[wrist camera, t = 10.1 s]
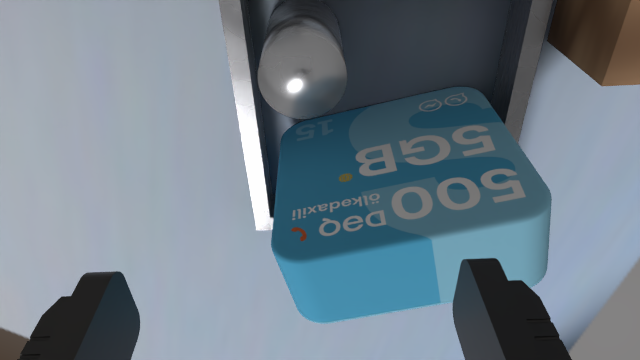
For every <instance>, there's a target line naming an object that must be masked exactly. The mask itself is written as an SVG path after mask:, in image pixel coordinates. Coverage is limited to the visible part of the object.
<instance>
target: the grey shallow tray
mask: <svg viewBox="0 0 640 360" xmlns="http://www.w3.org/2000/svg"><path fill="white" fill-rule="evenodd" d="M552 3H553V0H511V4H510V9H509V15H508V20H507V25H506V30H505V35H504V40H503V45H502V50H501V55H500V61H499V66H498V71H497V76H496V81H495V86H494V91H493V96H492V102H491V106H492V107H493V109H494V110H495V112H496V113H497V115H498V116H499V118H500V119H501V120H502V122H503V123H504V125H505V126H506V128H507V129H508V131H509V132H510V133H511V135H512V136H513V138H514V139H515V141H516V142H517V144H518V140H519V136H520V132H521V128H522V124H523V120H524V116H525V112H526V108H527V104H528V100H529V96H530V92H531V88H532V84H533V80H534V76H535V72H536V68H537V64H538V59H539V55H540V51H541V47H542V43H543V39H544V35H545V31H546V27H547V23H548V19H549V15H550V11H551V7H552ZM219 5H220V11H221V17H222V23H223V29H224V35H225V42H226V48H227V54H228V60H229V66H230V72H231V78H232V84H233V90H234V96H235V102H236V108H237V114H238V120H239V127H240V133H241V139H242V145H243V151H244V157H245V163H246V169H247V175H248V181H249V187H250V193H251V199H252V205H253V212H254V218H255V224H256V230H272V229H273V218H274V208H275V197H276V194H274V195H273V194H272V187H271V179H270V171H269V164H268V156H267V148H266V140H265V133H264V125H263V117H262V109H261V102H260V94H259V86H258V79H257V71H256V63H255V55H254V48H253V40H252V32H251V24H250V17H249V9H248V1H247V0H219Z"/></svg>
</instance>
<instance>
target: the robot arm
mask: <svg viewBox="0 0 640 360" xmlns="http://www.w3.org/2000/svg"><path fill="white" fill-rule="evenodd" d="M453 318H454V324H455V328H456V331H457V334H458V338H459V341H460V344H461V347H462V351H463V354H464V357H465V360H572V359H571V357H570V356H569V354H568V352H567V350H566V348H565V346H564V344H563V342H562V340H560V339H559V334H558V332H557V330H556V328H555V326H554V324H553V322H552V323H551V321H550V316H549V314H548V313H547V311H546V309H545V307H544V305H543V303H542V301H541V299H540V297H539V296H538V295H537V294H536V293H535V292H534V291H533V290H531V289H530V288H529V287H528V286H527V285H526V284H525V283H524V282H523V281H522V280H510V281H508V279H507V277H506V275H505V272H504V270H503V268H502V266H501V264H500V262H499V261H498V260H497V259H496V258H481V259H463V260H462V262H461V265H460V270H459V274H458V279H457V284H456V289H455V294H454V299H453ZM139 330H140V316H139V312H138V309H137V307H136V304H135V302H134V299H133V297H132V294H131V292H130V290H129V287H128V285H127V282H126V280H125V277H124V275H123V274H122V273H121V272H93V273H86V274H84V275H83V276H82V277H81V279H80V281H79V282H78V284H77V286H76V288H75V290H74V292H73V294H72V296H67V297H61V298H60V299H59V300H58V301H57V302H56V303H55V304H54V305H52V306H51V307H50V308H49V309H48V310H47V311H46V312H45V313H44V314H43V315H42V317H41V318H40V320H39V322H38V324H37V326H36V327H35V329H34V331H33V333H32V334H31V336H30V341H27V343H26V345H25V347H24V349H23V350H22V352H21V354H20V359H18V360H131V357H132V354H133V351H134V348H135V345H136V342H137V339H138V336H139Z"/></svg>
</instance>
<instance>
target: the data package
mask: <svg viewBox="0 0 640 360" xmlns="http://www.w3.org/2000/svg"><path fill="white" fill-rule="evenodd" d="M551 200H552V199H551V193H550V190H549V189H548V187H547V185H546V184H545V183H544V181H543V180H542V178H541V177H540V175H539V174H538V172H537V171H536V170H535V168H534V167H533V165H532V164H531V162H530V161H529V159H528V158H527V157H526V155H525V154H524V152H523V151H522V149H521V148H520V146H519V145H518V144H517V142H516V141H515V139H514V138H513V136H512V135H511V133H510V132H509V131H508V129H507V128H506V126H505V125H504V123H503V122H502V120H501V119H500V118H499V116H498V115H497V113H496V112H495V110H494V109H493V107H492V106H491V105H490V103H489V102H488V100H487V99H486V97H485V96H484V95H483V93H481V92H480V91H479V90H477V89H474V88H470V87H451V88H446V89H442V90H437V91H433V92H428V93H424V94H420V95H415V96H411V97H407V98H402V99H398V100H394V101H389V102H385V103H380V104H376V105H372V106H367V107H363V108H359V109H354V110H350V111H345V112H341V113H337V114H332V115H328V116H324V117H319V118H315V119H311V120H306V121H303V122H300V123H298V124H296V125H294V126H292V127H290V128H289V129H288V130H287V131H286V132H285V133H284V134H283V136H282V138H281V143H280V154H279V165H278V175H277V186H276V197H275V208H274V218H273V229H272V240H271V247H272V251H273V253H274V256H275V258H276V260H277V263H278V265H279V267H280V270H281V272H282V274H283V276H284V279H285V281H286V283H287V286H288V288H289V290H290V293H291V295H292V297H293V300H294V302H295V304H296V307H297V309H298V311H299V312H300V314H301V315H302V316H303V317H305V318H306V319H308V320H309V321H312V322H315V323H320V324H328V323H335V322H340V321H346V320H352V319H358V318H364V317H370V316H376V315H381V314H387V313H393V312H399V311H405V310H411V309H417V308H422V307H428V306H434V305H440V304H446V303H452V302H453V299H454V294H455V289H456V284H457V279H458V274H459V270H460V265H461V262H462V260H463V259H481V258H496V259H497V260H498V261H499V262H500V264H501V266H502V268H503V270H504V272H505V275H506V277H507V279H508V281H510V280H522V281H523V282H524V283H525V284H526V285H527V286H528V287H529V288H531V287H533V286H534V285H536V284H537V283H539V282H540V281H541V280H542V278H543V277H544V275H545V273H546V270H547V263H548V247H549V231H550V216H551Z"/></svg>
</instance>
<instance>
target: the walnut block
mask: <svg viewBox="0 0 640 360" xmlns="http://www.w3.org/2000/svg"><path fill="white" fill-rule="evenodd" d="M547 41H548V42H549V43H550V44H552V45H553V46H554V47H555V48H556V49H558V50H559V51H560V52H561V53H562V54H564V55H565V56H566V57H567V58H568V59H570V60H571V61H572V62H573V63H574V64H576V65H577V66H578V67H579V68H580V69H582V70H583V71H584V72H585V73H586V74H588V75H589V76H590V77H591V78H592V79H594V80H595V81H596V82H597V83H598V84H600V85H601V86H617V85H638V84H640V0H557V4H556V7H555V11H554V15H553V19H552V23H551V27H550V31H549V35H548V39H547Z"/></svg>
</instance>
